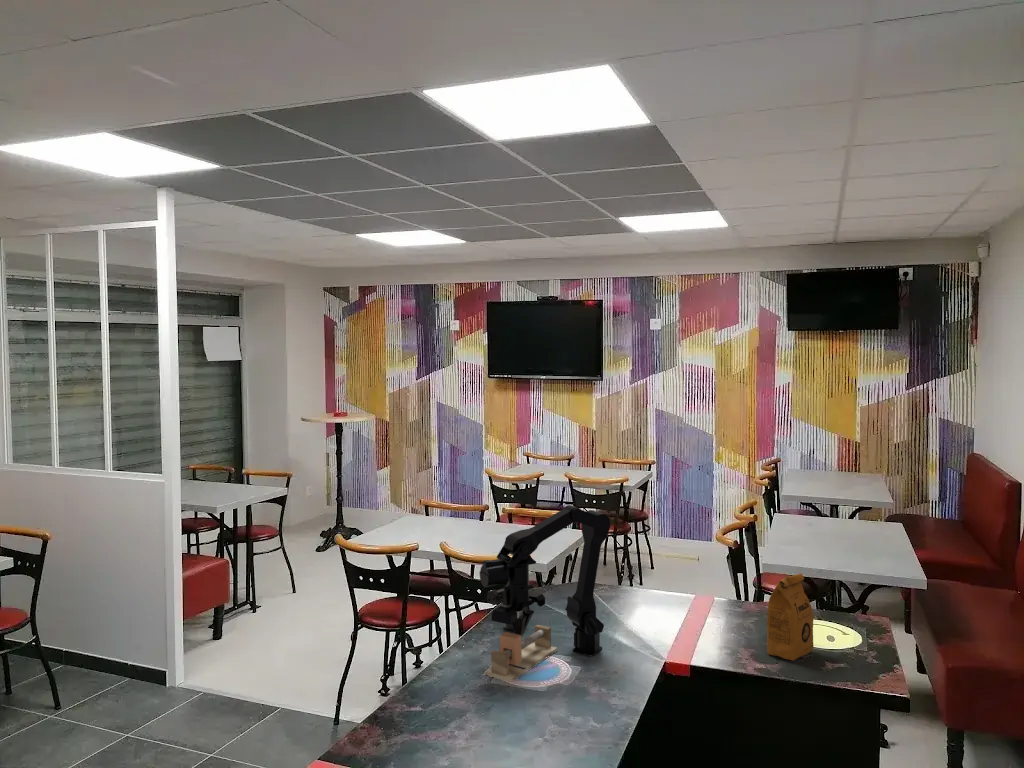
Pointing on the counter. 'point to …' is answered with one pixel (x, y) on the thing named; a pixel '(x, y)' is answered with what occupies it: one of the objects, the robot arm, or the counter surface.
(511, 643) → the brown block with hole
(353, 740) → the counter surface
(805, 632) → the coffee package
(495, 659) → the pipe stand
